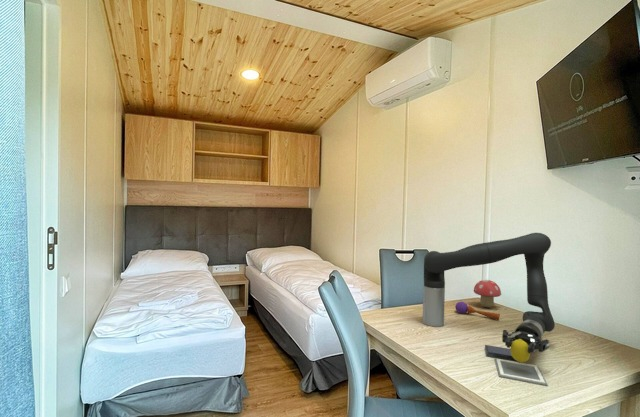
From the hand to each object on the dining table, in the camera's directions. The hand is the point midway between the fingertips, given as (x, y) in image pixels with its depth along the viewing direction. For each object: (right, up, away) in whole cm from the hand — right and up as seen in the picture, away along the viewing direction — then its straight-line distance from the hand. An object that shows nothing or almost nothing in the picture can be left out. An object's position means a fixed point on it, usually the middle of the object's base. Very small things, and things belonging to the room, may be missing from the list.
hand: (518, 347), depth 106 cm
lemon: (+2, -6, +2) cm, 7 cm away
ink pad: (+2, -9, +14) cm, 17 cm away
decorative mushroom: (+27, -9, +73) cm, 78 cm away
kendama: (+14, -9, +58) cm, 61 cm away
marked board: (+1, -9, +2) cm, 9 cm away
